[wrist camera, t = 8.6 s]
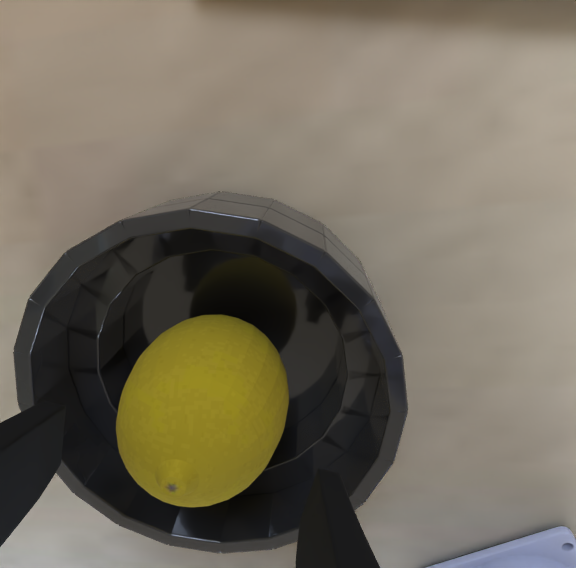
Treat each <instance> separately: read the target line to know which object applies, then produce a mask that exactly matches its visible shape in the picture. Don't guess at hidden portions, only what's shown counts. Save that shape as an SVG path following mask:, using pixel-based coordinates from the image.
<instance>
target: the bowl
mask: <svg viewBox="0 0 576 568" xmlns="http://www.w3.org/2000/svg"><path fill="white" fill-rule="evenodd" d="M201 315H226V316H231V317H236V318H239V319H241V320H243V321H245V322H248V323H250V324H252V325H254V326H255V327H256V328H257V329H259V330H260V331H261V332H262V333H264V334H265V335H266V336H267V337H268V339H269V340H270V341H271V343H272V344H273V345H274V347H275V348H276V349H277V351H278V353H279V355H280V358H281V360H282V363H283V365H284V367H285V370H286V374H287V382H288V390H289V404H288V410H287V416H286V422H285V427H284V430H283V434H282V436H281V439H280V441H279V443H278V445H277V447H276V449H275V451H274V453H273V455H272V457H271V459H270V461H269V463H268V464H267V466H266V467H265V469H264V470H263V471H262V473H261V474H260V475H259V476H258V477H257V478H256V479H255V480H254V481H253V482H252V483H251V484H250V485H249V487H247V488H246V489H245V490H243V491H242V492H240V493H239V494H237V495H235V496H234V497H232V498H230V499H228V500H226V501H223V502H220V503H216V504H213V505H210V506H203V507H183V506H176V505H172V504H169V503H166V502H163V501H161V500H159V499H157V498H155V497H154V496H152V495H150V494H149V493H148V492H147V491H146V490H144V489H143V488H142V487H141V486H140V485H138V484H137V482H136V481H135V480H134V479H133V477H132V476H131V475H130V473H129V472H128V470H127V469H126V467H125V464H124V462H123V460H122V458H121V455H120V453H119V449H118V442H117V435H116V420H117V414H118V408H119V402H120V398H121V394H122V391H123V388H124V386H125V383H126V381H127V379H128V377H129V375H130V373H131V371H132V369H133V367H134V365H135V364H136V362H137V360H138V358H139V357H140V355H141V354H142V353H143V352H144V351H145V350H146V349H147V347H148V346H149V345H150V344H151V343H152V342H153V341H154V340H155V339H156V338H157V337H158V336H159V335H161V334H162V333H163V332H165V331H166V330H168V329H170V328H171V327H173V326H175V325H176V324H178V323H180V322H182V321H184V320H187V319H190V318H194V317H198V316H201ZM13 354H14V365H15V377H16V389H17V400H18V403H19V404H18V405H19V408H20V410H21V412H23V411H24V410H26V409H28V408H30V407H32V406H34V405H36V404H38V403H40V402H42V401H49V402H53V403H57V404H61V405H65V406H66V413H65V425H64V436H63V448H62V460H61V465H60V466H59V468H58V469H57V471H56V473H57V475H58V476H59V477H60V478H61V479H62V480H63V482H64V483H65V484H66V485H67V486H68V488H69V489H70V490H71V491H72V492H73V493H75V495H77V496H78V497H79V498H81V499H82V500H84V501H85V502H86V503H88V504H89V505H91V506H92V507H93V508H95V509H96V510H98V511H99V512H100V513H102V514H103V515H105V516H106V517H107V518H109V519H110V520H112V521H113V522H114V523H116V524H119V526H122V527H124V528H127V529H129V530H131V531H134V532H136V533H139V534H141V535H144V536H146V537H149V538H151V539H154V540H156V541H159V542H161V543H164V544H166V545H168V544H169V545H170V546H176V547H182V548H188V549H195V550H201V551H207V552H214V553H235V552H248V551H261V550H272V549H276V548H279V547H282V546H285V545H288V544H291V543H294V542H297V541H298V533H299V523H300V519H301V517H302V514H303V511H304V508H305V505H306V502H307V499H308V496H309V493H310V490H311V487H312V484H313V482H314V479H315V476H316V473H317V470H318V468H319V469H323V470H327V471H331V472H335V473H339V474H340V476H341V477H342V480H343V483H344V486H345V488H346V491H347V494H348V496H349V499H350V501H351V504H352V506H353V509H354V510H355V509H357V508H358V507H360V506H361V505H363V503H364V502H365V501H366V500H367V498H368V497H369V496H370V494H371V493H372V491H373V490H374V489H375V487H376V486H377V485H378V483H379V482H380V480H381V479H382V478H383V476H384V475H385V474H386V472H387V471H388V469H389V468H390V467H391V465H392V464H393V461H394V460H395V456H396V453H397V449H398V445H399V442H400V438H401V435H402V431H403V428H404V424H405V420H406V417H407V413H408V403H407V393H406V383H405V373H404V363H403V355H402V352H401V350H400V347H399V345H398V342H397V340H396V338H395V335H394V333H393V331H392V328H391V326H390V324H389V321H388V319H387V316H386V314H385V311H384V309H383V307H382V304H381V302H380V300H379V298H378V296H377V294H376V292H375V290H374V288H373V286H372V284H371V282H370V280H369V278H368V276H367V274H366V272H365V270H364V268H363V265H362V263H361V261H359V259H358V258H357V257H356V256H355V255H354V254H353V253H352V252H351V251H350V250H349V249H348V248H347V247H346V246H345V245H344V244H343V243H342V242H341V241H340V240H339V239H338V238H337V237H336V236H335V235H334V234H333V233H332V232H331V231H330V230H329V229H328V228H327V227H326V226H325V225H324V224H322V223H321V222H319V221H317V220H315V219H313V218H311V217H309V216H307V215H305V214H303V213H301V212H299V211H297V210H295V209H293V208H291V207H289V206H287V205H285V204H283V203H281V202H279V201H277V200H274V199H270V198H263V197H257V196H250V195H243V194H237V193H230V192H220V191H219V192H213V193H207V194H202V195H196V196H190V197H185V198H179V199H173V200H170V201H167V202H164V203H162V204H160V205H157V206H155V207H152V208H150V209H147V210H144V211H142V212H139V213H137V214H135V215H132V216H130V217H127V218H125V219H122V220H120V221H118V222H116V223H114V224H112V225H111V226H109V227H107V228H105V229H104V230H102V231H100V232H98V233H97V234H95V235H93V236H91V237H90V238H88V239H86V240H84V241H83V242H81V243H79V244H77V245H76V246H74V247H72V248H70V249H69V250H67V251H66V252H65V253H64V254H63V255H62V256H61V258H60V259H59V260H58V261H57V263H56V264H55V265H54V266H53V268H52V269H51V270H50V271H49V273H48V274H47V275H46V276H45V278H44V279H43V280H42V281H41V283H40V284H39V285H38V286H37V288H36V289H35V290H34V291H33V293H32V294H31V295H30V298H29V299H28V302H27V305H26V309H25V312H24V315H23V319H22V322H21V326H20V329H19V332H18V336H17V339H16V343H15V346H14V352H13Z"/></svg>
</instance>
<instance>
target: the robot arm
mask: <svg viewBox="0 0 576 568" xmlns="http://www.w3.org/2000/svg"><path fill="white" fill-rule="evenodd" d="M65 413H66V406H65V405H61V404H57V403H53V402H49V401H42V402H40V403H38V404H36V405H34V406H32V407H30V408H28V409H26V410H24V411H23V412H21V413H19V414H17V415H15V416H13V417H11V418H9V419H7V420H5V421H3V422H1V423H0V547H1V545H2V544H3V543H4V542H5V541H6V539H7V538H8V537H9V536H10V534H11V533H12V532H13V531H14V529H15V528H16V527H17V526H18V524H19V523H20V522H21V521H22V519H23V518H24V517H25V516H26V514H27V513H28V512H29V511H30V509H31V508H32V507H33V506H34V504H35V503H36V502H37V500H38V499H39V498H40V496H41V495H42V493H43V492H44V490H45V489H46V487H47V485H48V484H49V482H50V481H51V479H52V478H53V476H54V474H55V473H56V471H57V469H58V468H59V466H60V465H61V460H62V448H63V436H64V425H65ZM296 568H380V566H379V564H378V562H377V560H376V558H375V556H374V554H373V552H372V550H371V547H370V545H369V543H368V541H367V539H366V537H365V534H364V532H363V530H362V528H361V525H360V523H359V521H358V518H357V516H356V514H355V511H354V509H353V506H352V504H351V501H350V499H349V496H348V494H347V491H346V488H345V486H344V483H343V480H342V477H341V476H340V474H339V473H335V472H331V471H327V470H323V469H319V468H318V470H317V473H316V476H315V479H314V482H313V484H312V487H311V490H310V493H309V496H308V499H307V502H306V505H305V508H304V511H303V514H302V517H301V519H300V523H299V533H298V542H297V553H296ZM425 568H576V539H575V537H574V535H573V533H572V532H571V530H570V529H569V528H567V527H564V526H559V527H555V528H551V529H548V530H545V531H542V532H539V533H535V534H532V535H529V536H526V537H522V538H519V539H516V540H513V541H509V542H506V543H503V544H500V545H496V546H493V547H490V548H487V549H484V550H480V551H477V552H474V553H471V554H467V555H464V556H461V557H458V558H454V559H451V560H448V561H445V562H442V563H438V564H435V565H432V566H429V567H425Z"/></svg>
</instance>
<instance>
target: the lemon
mask: <svg viewBox="0 0 576 568" xmlns="http://www.w3.org/2000/svg"><path fill="white" fill-rule="evenodd" d="M288 404H289V390H288V382H287V374H286V370H285V367H284V365H283V363H282V360H281V358H280V355H279V353H278V351H277V349H276V348H275V347H274V345H273V344H272V343H271V341H270V340H269V339H268V337H267V336H266V335H265V334H264V333H262V332H261V331H260V330H259V329H257V328H256V327H255V326H254V325H252V324H250V323H248V322H245V321H243V320H241V319H239V318H236V317H231V316H226V315H201V316H198V317H194V318H190V319H187V320H184V321H182V322H180V323H178V324H176V325H175V326H173V327H171V328H170V329H168V330H166V331H165V332H163V333H162V334H161V335H159V336H158V337H157V338H156V339H155V340H154V341H153V342H152V343H151V344H150V345H149V346H148V347H147V349H146V350H145V351H144V352H143V353H142V354H141V355H140V357H139V358H138V360H137V362H136V364H135V365H134V367H133V369H132V371H131V373H130V375H129V377H128V379H127V381H126V383H125V386H124V388H123V391H122V394H121V398H120V402H119V408H118V414H117V420H116V435H117V442H118V449H119V453H120V455H121V458H122V460H123V462H124V464H125V467H126V469H127V470H128V472H129V473H130V475H131V476H132V477H133V479H134V480H135V481H136V482H137V484H138V485H140V486H141V487H142V488H143V489H144V490H146V491H147V492H148V493H149V494H150V495H152V496H154V497H155V498H157V499H159V500H161V501H163V502H166V503H169V504H172V505H176V506H183V507H203V506H210V505H213V504H216V503H220V502H223V501H226V500H228V499H230V498H232V497H234V496H235V495H237V494H239V493H240V492H242V491H243V490H245V489H246V488H247V487H249V485H250V484H251V483H252V482H253V481H254V480H255V479H256V478H257V477H258V476H259V475H260V474H261V473H262V471H263V470H264V469H265V467H266V466H267V464H268V463H269V461H270V459H271V457H272V455H273V453H274V451H275V449H276V447H277V445H278V443H279V441H280V439H281V436H282V434H283V430H284V427H285V422H286V416H287V410H288Z"/></svg>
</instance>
